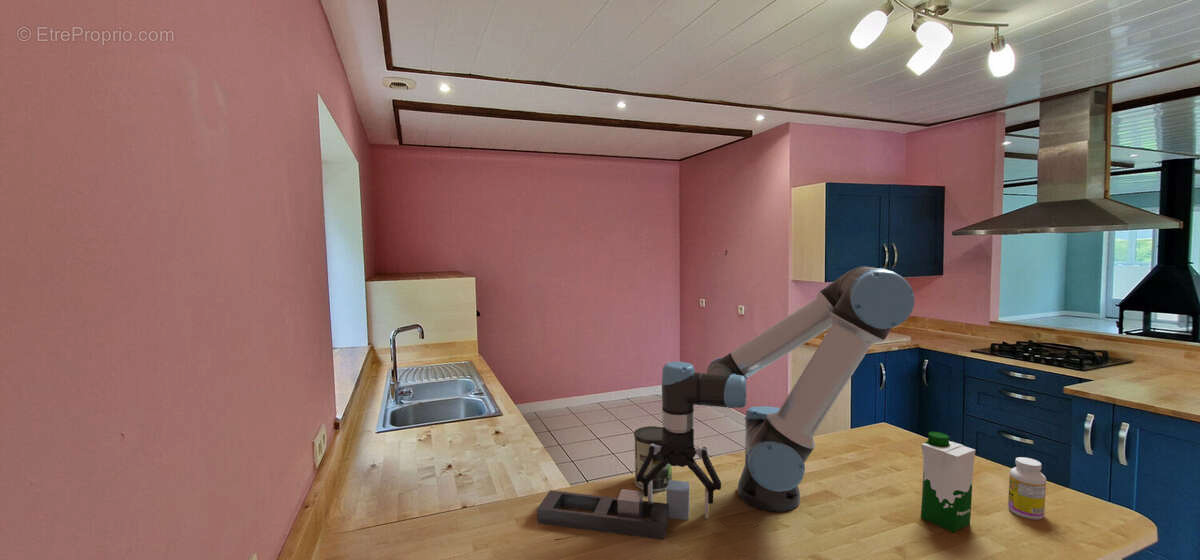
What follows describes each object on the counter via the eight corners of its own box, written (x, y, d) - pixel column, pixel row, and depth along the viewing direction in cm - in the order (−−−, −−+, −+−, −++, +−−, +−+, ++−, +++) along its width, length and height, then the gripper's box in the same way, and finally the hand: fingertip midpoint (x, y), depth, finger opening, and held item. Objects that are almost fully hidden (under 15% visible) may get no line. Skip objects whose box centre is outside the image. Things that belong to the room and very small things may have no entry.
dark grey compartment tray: (668, 517, 118) (668, 503, 118) (664, 539, 110) (664, 524, 109) (550, 503, 126) (549, 490, 125) (537, 523, 117) (537, 508, 117)
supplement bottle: (1009, 502, 123) (1012, 452, 122) (1045, 512, 118) (1048, 460, 117) (1005, 513, 118) (1008, 461, 117) (1043, 524, 114) (1046, 470, 113)
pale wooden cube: (642, 519, 118) (642, 491, 117) (639, 531, 113) (639, 502, 112) (622, 517, 119) (621, 489, 118) (617, 528, 114) (617, 499, 114)
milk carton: (935, 507, 121) (938, 428, 120) (977, 525, 113) (981, 441, 112) (914, 516, 117) (917, 434, 116) (956, 536, 109) (959, 449, 108)
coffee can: (673, 475, 140) (673, 426, 139) (670, 493, 130) (670, 441, 129) (636, 472, 142) (636, 424, 141) (631, 490, 132) (631, 438, 131)
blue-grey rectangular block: (689, 509, 122) (689, 481, 122) (687, 520, 117) (687, 491, 117) (668, 506, 123) (668, 479, 123) (666, 517, 118) (666, 489, 118)
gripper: (731, 425, 119) (730, 509, 121) (629, 418, 125) (630, 498, 127) (732, 437, 112) (731, 527, 114) (623, 428, 118) (624, 514, 120)
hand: (678, 512), depth 120 cm, fingers open, 13 cm apart
